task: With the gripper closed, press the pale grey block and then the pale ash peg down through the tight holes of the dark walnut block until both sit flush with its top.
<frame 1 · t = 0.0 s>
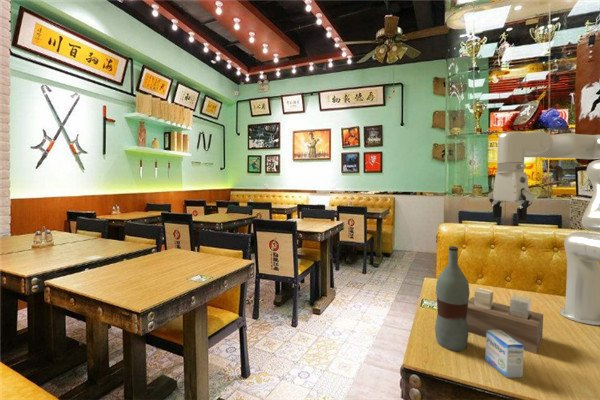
hand: (508, 218, 101), 37 cm above the table, tool pointing down, fingers open, 9 cm apart
medicine box: (502, 369, 78), on the table
bottle: (451, 344, 90), on the table
ash peg: (483, 302, 99), point 9 cm above the table, slide at 0.0 cm
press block: (500, 334, 96), on the table
pale grey block: (520, 311, 92), point 9 cm above the table, slide at 0.0 cm
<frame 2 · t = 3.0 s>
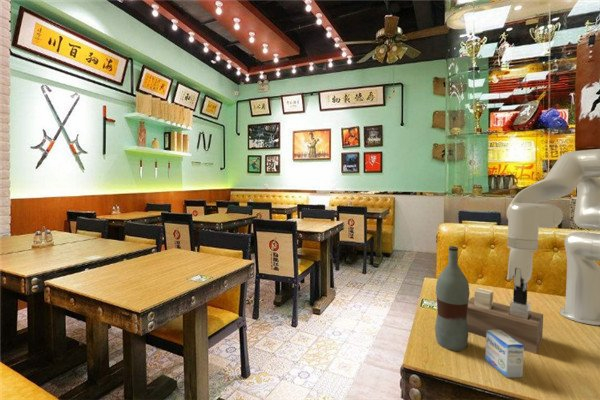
hand: (519, 302, 92), 12 cm above the table, tool pointing down, fingers closed
pale grey block: (519, 314, 92), point 8 cm above the table, slide at 0.9 cm, touching gripper
everything else where it was.
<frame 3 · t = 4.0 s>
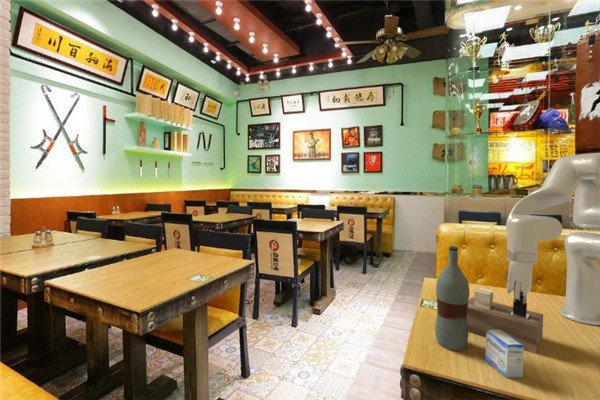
hand: (519, 314, 92), 8 cm above the table, tool pointing down, fingers closed
pale grey block: (519, 326, 92), point 4 cm above the table, slide at 4.9 cm, touching gripper
everything else where it was.
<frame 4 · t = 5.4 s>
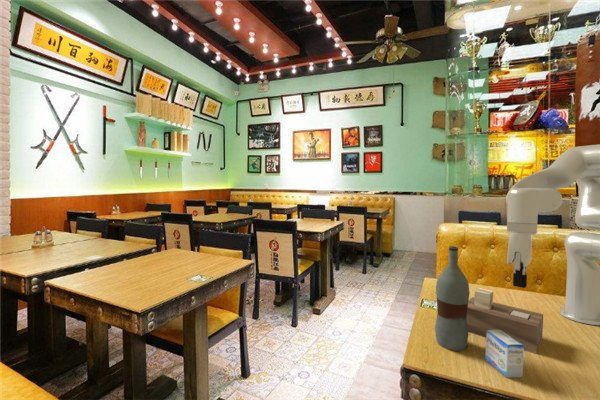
hand: (519, 286, 92), 17 cm above the table, tool pointing down, fingers closed
pale grey block: (519, 326, 92), point 4 cm above the table, slide at 4.9 cm
everything else where it was.
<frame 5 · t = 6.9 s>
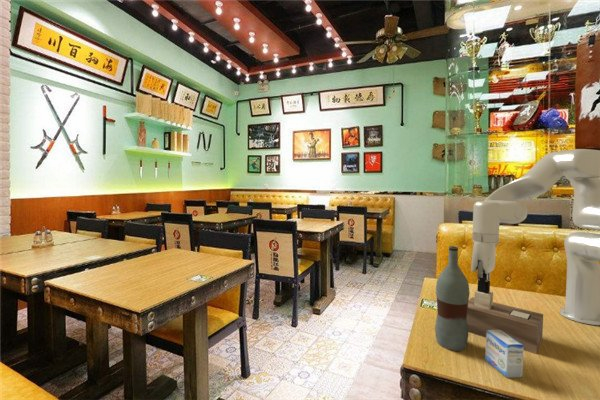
hand: (483, 291, 99), 13 cm above the table, tool pointing down, fingers closed
ash peg: (483, 303, 99), point 9 cm above the table, slide at 0.3 cm, touching gripper
everything else where it was.
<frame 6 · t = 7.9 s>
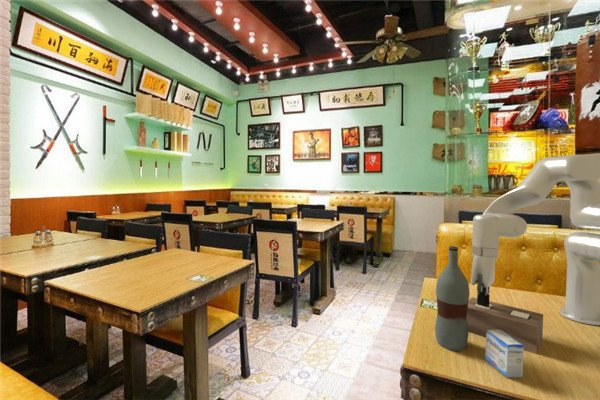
hand: (483, 305, 99), 8 cm above the table, tool pointing down, fingers closed
ash peg: (483, 316, 99), point 4 cm above the table, slide at 4.9 cm, touching gripper
everything else where it was.
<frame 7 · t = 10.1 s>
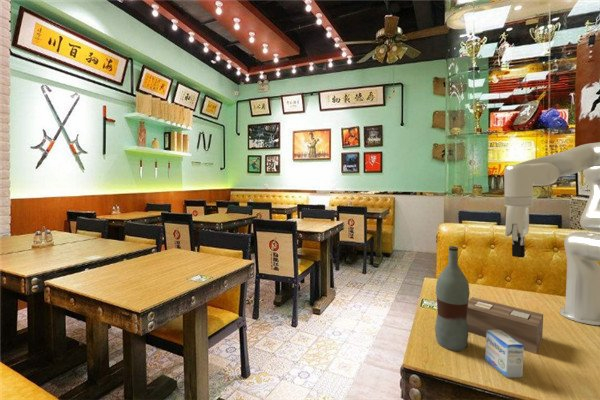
hand: (518, 256, 98), 25 cm above the table, tool pointing down, fingers closed
ash peg: (483, 316, 99), point 4 cm above the table, slide at 4.9 cm
everything else where it was.
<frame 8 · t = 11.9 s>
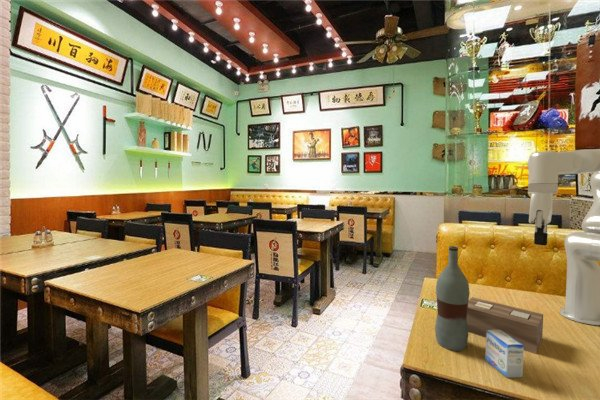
hand: (540, 244, 97), 29 cm above the table, tool pointing down, fingers closed
nothing on the table moved.
at the end: pale grey block slide at 4.9 cm; ash peg slide at 4.9 cm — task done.
